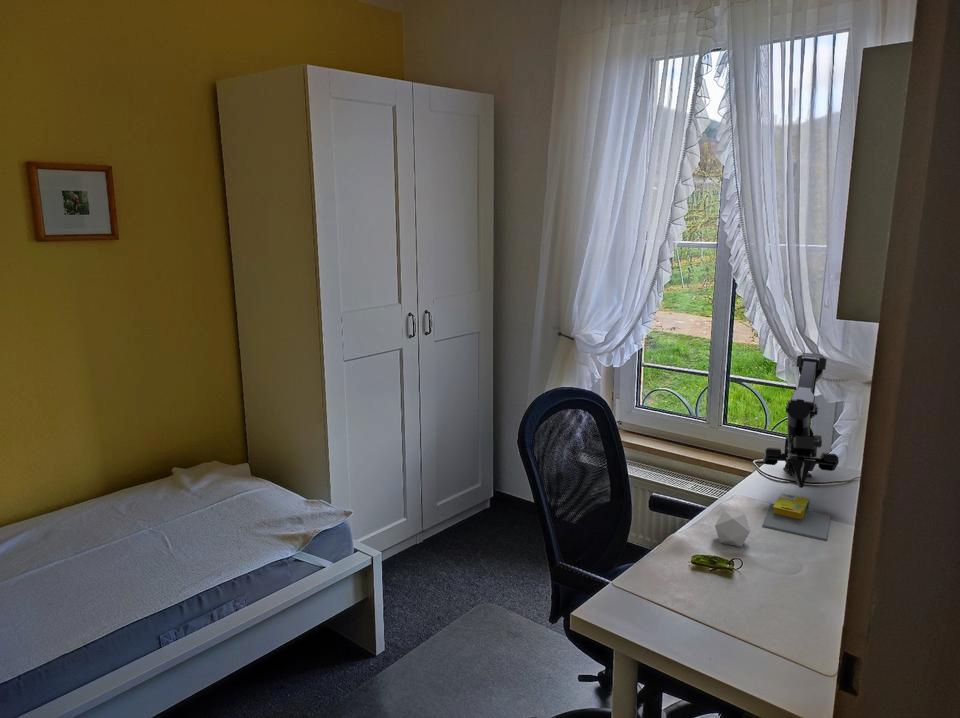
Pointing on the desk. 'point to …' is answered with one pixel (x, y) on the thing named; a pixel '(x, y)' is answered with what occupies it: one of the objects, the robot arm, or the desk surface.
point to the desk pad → (799, 524)
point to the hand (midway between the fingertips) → (801, 487)
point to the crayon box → (791, 506)
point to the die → (732, 528)
